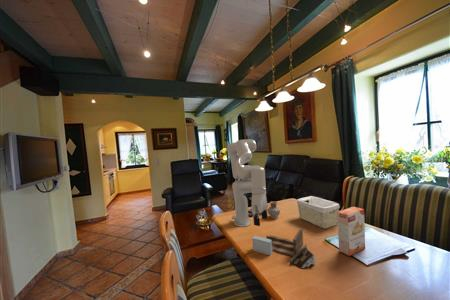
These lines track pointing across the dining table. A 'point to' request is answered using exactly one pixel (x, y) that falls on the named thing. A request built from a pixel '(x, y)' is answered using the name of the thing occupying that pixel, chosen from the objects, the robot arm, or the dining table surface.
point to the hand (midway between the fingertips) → (260, 221)
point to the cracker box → (351, 230)
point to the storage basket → (318, 211)
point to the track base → (287, 244)
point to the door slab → (262, 245)
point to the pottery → (273, 210)
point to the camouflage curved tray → (303, 258)
